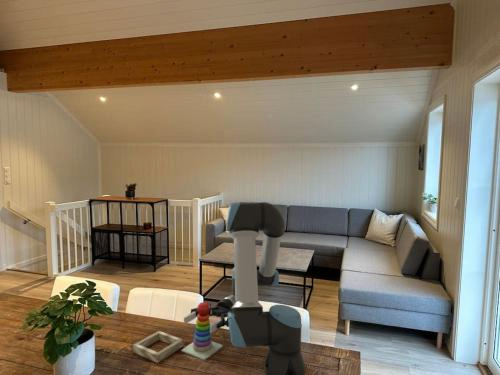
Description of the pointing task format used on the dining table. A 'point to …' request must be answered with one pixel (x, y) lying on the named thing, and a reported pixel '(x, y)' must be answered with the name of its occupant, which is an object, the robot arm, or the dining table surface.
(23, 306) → the dining table surface
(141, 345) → the birch holder
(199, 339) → the stacking toy
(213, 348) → the sage mat
